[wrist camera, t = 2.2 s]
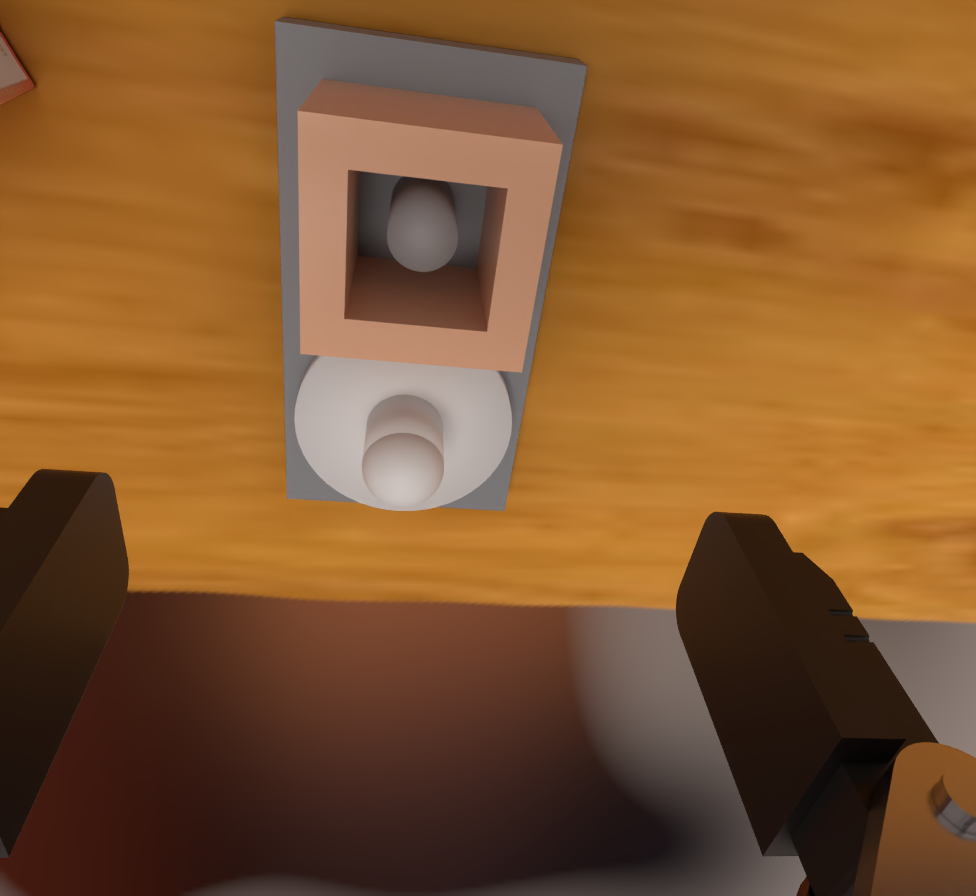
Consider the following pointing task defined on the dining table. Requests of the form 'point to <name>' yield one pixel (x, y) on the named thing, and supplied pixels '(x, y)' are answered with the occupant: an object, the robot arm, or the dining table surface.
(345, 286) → the collar
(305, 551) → the dining table surface
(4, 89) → the cracker box
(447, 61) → the hub base
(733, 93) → the dining table surface
